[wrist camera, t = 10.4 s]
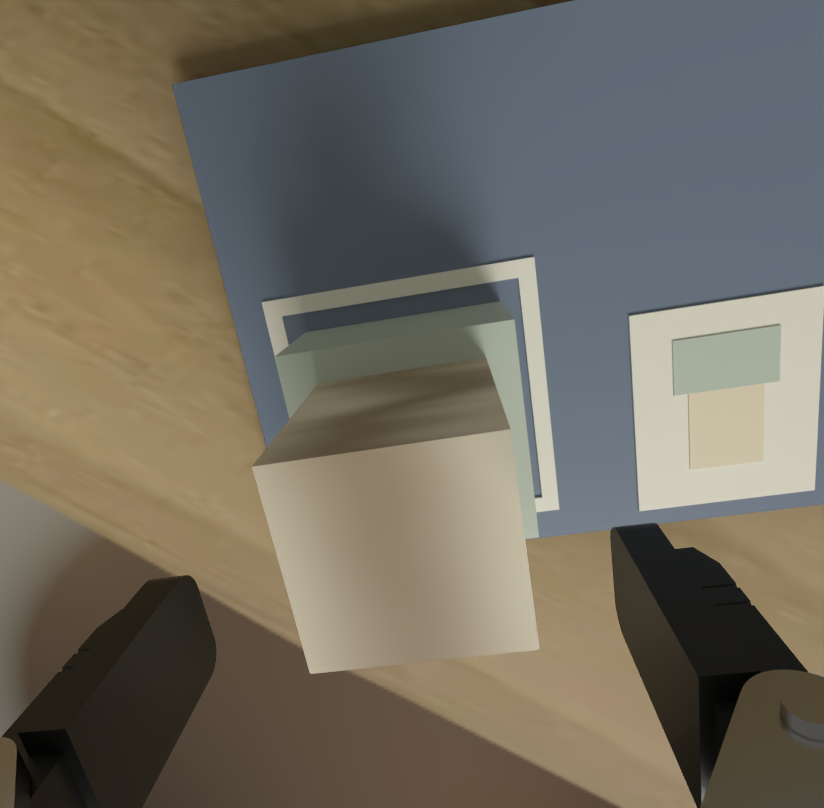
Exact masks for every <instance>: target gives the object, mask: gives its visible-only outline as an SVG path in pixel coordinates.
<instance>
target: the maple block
mask: <svg viewBox="0 0 824 808" xmlns="http://www.w3.org/2000/svg"><path fill="white" fill-rule="evenodd" d="M252 468H253V472H254V476H255V479H256V483H257V486H258V490H259V493H260V497H261V501H262V504H263V508H264V511H265V515H266V518H267V522H268V525H269V529H270V533H271V536H272V540H273V543H274V547H275V550H276V554H277V557H278V561H279V565H280V568H281V572H282V575H283V579H284V582H285V586H286V590H287V593H288V597H289V600H290V604H291V607H292V611H293V614H294V618H295V622H296V625H297V629H298V632H299V636H300V639H301V643H302V646H303V650H304V654H305V657H306V660H307V664H308V668H309V671H310V674H314V673H323V672H332V671H342V670H352V669H361V668H371V667H380V666H390V665H399V664H408V663H418V662H427V661H437V660H446V659H455V658H465V657H474V656H484V655H493V654H503V653H512V652H521V651H531V650H540V649H539V642H538V634H537V627H536V619H535V611H534V604H533V596H532V588H531V581H530V573H529V565H528V558H527V550H526V543H525V535H524V527H523V520H522V512H521V504H520V497H519V489H518V482H517V474H516V466H515V459H514V451H513V443H512V436H511V429H510V426H509V423H508V420H507V417H506V414H505V411H504V408H503V405H502V402H501V400H500V397H499V394H498V391H497V388H496V385H495V382H494V379H493V376H492V373H491V370H490V367H489V365H488V362H487V359H486V357H483V358H476V359H470V360H464V361H458V362H451V363H445V364H439V365H432V366H426V367H420V368H413V369H407V370H401V371H395V372H388V373H382V374H376V375H369V376H363V377H357V378H350V379H344V380H338V381H332V382H325V383H319V384H317V385H316V386H315V387H314V389H313V390H312V391H311V392H310V394H309V395H308V396H307V397H306V399H305V400H304V401H303V403H302V404H301V405H300V406H299V408H298V409H297V410H296V411H295V413H294V414H293V415H292V417H291V418H290V419H289V420H288V422H287V423H286V424H285V425H284V427H283V428H282V429H281V431H280V432H279V433H278V434H277V436H276V437H275V438H274V439H273V441H272V442H271V443H270V445H269V446H268V447H267V448H266V450H265V451H264V452H263V453H262V455H261V456H260V457H259V459H258V460H257V461H256V462H255V464H254V465H253V466H252Z"/></svg>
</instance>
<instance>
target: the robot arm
mask: <svg viewBox="0 0 824 808" xmlns="http://www.w3.org/2000/svg"><path fill="white" fill-rule="evenodd" d="M610 538H611V552H612V566H613V579H614V593H615V604H616V610H617V615H618V620H619V624H620V627H621V631H622V634H623V636H624V639H625V641H626V644H627V646H628V648H629V651H630V653H631V655H632V657H633V660H634V662H635V664H636V667H637V669H638V671H639V674H640V676H641V678H642V681H643V683H644V685H645V688H646V690H647V692H648V695H649V697H650V699H651V702H652V704H653V706H654V708H655V711H656V713H657V715H658V718H659V720H660V722H661V725H662V727H663V729H664V732H665V734H666V736H667V739H668V741H669V743H670V746H671V748H672V750H673V752H674V755H675V757H676V759H677V762H678V764H679V766H680V769H681V771H682V773H683V776H684V778H685V780H686V783H687V785H688V787H689V790H690V792H691V794H692V797H693V799H694V801H695V803H696V806H697V808H824V677H821V676H819V675H815V674H811V673H808V671H807V670H806V669H805V668H804V666H803V665H802V664H801V663H800V662H799V660H798V659H797V658H796V657H795V655H794V654H793V653H792V652H791V650H790V649H789V648H788V647H787V646H786V644H785V643H784V642H783V641H782V639H781V638H780V637H779V636H778V634H777V633H776V632H775V631H774V630H773V628H772V627H771V626H770V625H769V623H768V622H767V621H766V620H765V618H764V617H763V616H762V615H761V614H760V612H759V611H758V610H757V609H756V607H755V606H754V605H753V606H752V605H751V603H750V600H749V599H748V598H747V596H746V595H745V594H744V593H743V591H742V590H741V589H740V588H737V586H736V583H735V582H734V580H733V579H732V578H731V577H730V575H729V574H728V573H727V572H726V570H725V569H724V568H723V567H722V566H721V564H720V563H719V562H717V561H715V560H714V559H712V558H710V557H708V556H707V555H705V554H703V553H702V552H700V551H698V550H697V549H695V548H693V547H691V548H681V549H674V547H673V546H672V544H671V543H670V542H669V540H668V539H667V537H666V536H665V535H664V533H663V532H662V530H661V529H660V528H659V526H658V525H657V524H656V523H645V524H637V525H628V526H619V527H612V529H611V537H610ZM215 662H216V643H215V639H214V635H213V633H212V629H211V626H210V623H209V620H208V617H207V614H206V611H205V608H204V605H203V602H202V599H201V595H200V592H199V589H198V586H197V584H196V582H195V580H194V579H193V578H192V577H191V576H188V575H185V576H177V577H168V578H160V579H152V580H149V581H147V582H146V583H145V584H144V585H143V586H142V588H141V589H140V590H139V591H138V592H137V593H136V594H135V596H134V597H133V598H132V599H131V600H130V602H129V603H128V604H127V605H126V606H125V608H124V609H122V610H120V611H119V612H118V613H116V614H115V615H114V616H112V617H111V618H110V619H108V620H107V621H106V622H104V623H103V624H102V625H100V626H99V627H98V628H96V630H95V631H94V632H93V633H92V634H91V635H90V636H89V638H88V639H87V640H86V641H85V642H84V644H82V646H81V647H80V648H79V649H78V654H74V655H73V656H72V657H71V658H70V659H69V660H68V662H67V663H66V664H65V665H64V666H63V670H62V672H58V673H57V674H56V675H55V676H54V678H53V679H52V680H51V681H50V682H49V683H48V684H47V686H46V687H45V688H44V689H43V690H42V691H41V692H40V694H39V695H38V696H37V697H36V698H35V699H34V700H33V702H32V703H31V704H30V705H29V706H28V707H27V708H26V710H25V711H24V712H23V713H22V714H21V715H20V716H19V718H18V719H17V720H16V721H15V722H14V723H13V724H12V726H11V727H10V728H9V729H8V730H7V731H6V732H5V734H4V735H3V736H2V737H0V808H142V807H143V805H144V803H145V801H146V799H147V797H148V795H149V794H150V792H151V790H152V788H153V786H154V784H155V782H156V780H157V778H158V776H159V774H160V773H161V771H162V769H163V767H164V765H165V763H166V761H167V759H168V757H169V755H170V754H171V752H172V750H173V748H174V746H175V744H176V742H177V740H178V739H179V737H180V735H181V733H182V731H183V729H184V727H185V725H186V723H187V721H188V719H189V717H190V715H191V714H192V712H193V710H194V708H195V706H196V704H197V702H198V701H199V699H200V697H201V695H202V693H203V691H204V689H205V687H206V685H207V683H208V681H209V680H210V678H211V676H212V673H213V670H214V667H215Z"/></svg>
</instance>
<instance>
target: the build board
mask: <svg viewBox="0 0 824 808" xmlns="http://www.w3.org/2000/svg"><path fill="white" fill-rule="evenodd" d="M172 86H173V90H174V94H175V98H176V102H177V105H178V109H179V113H180V117H181V121H182V125H183V128H184V132H185V136H186V140H187V144H188V148H189V151H190V155H191V159H192V163H193V167H194V171H195V174H196V178H197V182H198V186H199V190H200V194H201V197H202V201H203V205H204V209H205V213H206V217H207V220H208V224H209V228H210V232H211V236H212V240H213V243H214V247H215V251H216V255H217V259H218V263H219V266H220V270H221V274H222V278H223V282H224V286H225V289H226V293H227V297H228V301H229V305H230V309H231V312H232V316H233V320H234V324H235V328H236V332H237V336H238V339H239V343H240V347H241V351H242V355H243V359H244V362H245V366H246V370H247V374H248V378H249V382H250V385H251V389H252V393H253V397H254V401H255V405H256V408H257V412H258V416H259V420H260V424H261V428H262V431H263V435H264V439H265V443H266V447H268V446H269V445H270V443H271V442H272V441H273V439H274V438H275V437H276V436H277V434H278V433H279V432H280V431H281V429H282V428H283V427H284V425H285V424H286V423H287V422H288V420H289V415H288V411H287V407H286V403H285V399H284V395H283V391H282V387H281V382H280V378H279V374H278V370H277V366H276V362H275V358H274V357H275V356H276V355H277V354H279V353H280V352H281V351H282V350H284V349H285V348H286V347H287V346H289V345H290V344H291V343H293V342H294V341H295V340H296V339H298V338H299V337H300V336H302V335H303V334H304V333H305V332H310V331H316V330H323V329H329V328H335V327H341V326H348V325H354V324H360V323H366V322H373V321H379V320H385V319H391V318H398V317H404V316H410V315H416V314H423V313H429V312H435V311H441V310H448V309H454V308H460V307H466V306H473V305H479V304H485V303H491V302H498V301H500V302H501V303H502V304H503V305H504V307H505V308H506V309H507V310H508V312H509V313H510V314H511V316H512V317H513V318H514V319H515V328H516V337H517V346H518V355H519V364H520V373H521V381H522V390H523V399H524V408H525V417H526V426H527V435H528V443H529V452H530V461H531V470H532V479H533V488H534V497H535V505H536V514H537V523H538V532H539V538H543V537H551V536H560V535H568V534H577V533H585V532H594V531H602V530H611V529H612V527H619V526H628V525H637V524H645V523H656V524H661V523H670V522H678V521H686V520H695V519H703V518H712V517H720V516H729V515H737V514H746V513H754V512H762V511H771V510H779V509H788V508H796V507H805V506H813V505H822V504H824V0H573V1H568V2H563V3H559V4H554V5H549V6H544V7H540V8H535V9H530V10H525V11H520V12H516V13H511V14H506V15H501V16H496V17H492V18H487V19H482V20H477V21H473V22H468V23H463V24H458V25H453V26H449V27H444V28H439V29H434V30H429V31H425V32H420V33H415V34H410V35H406V36H401V37H396V38H391V39H386V40H382V41H377V42H372V43H367V44H362V45H358V46H353V47H348V48H343V49H339V50H334V51H329V52H324V53H319V54H315V55H310V56H305V57H300V58H295V59H291V60H286V61H281V62H276V63H272V64H267V65H262V66H257V67H252V68H248V69H243V70H238V71H233V72H229V73H224V74H219V75H214V76H209V77H205V78H200V79H195V80H190V81H185V82H181V83H176V84H172ZM531 539H535V538H531ZM525 540H526V539H525Z"/></svg>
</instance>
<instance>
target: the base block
mask: <svg viewBox="0 0 824 808" xmlns="http://www.w3.org/2000/svg"><path fill="white" fill-rule="evenodd" d="M483 357H486V359H487V362H488V365H489V367H490V370H491V373H492V376H493V379H494V382H495V385H496V388H497V391H498V394H499V397H500V400H501V402H502V405H503V408H504V411H505V414H506V417H507V420H508V423H509V426H510V429H511V436H512V443H513V451H514V459H515V466H516V474H517V482H518V489H519V497H520V504H521V512H522V520H523V527H524V535H525V539H531V538H539V532H538V523H537V514H536V505H535V497H534V488H533V479H532V470H531V461H530V452H529V443H528V435H527V426H526V417H525V408H524V399H523V390H522V381H521V373H520V364H519V355H518V346H517V337H516V328H515V319H514V318H513V317H512V316H511V314H510V313H509V312H508V310H507V309H506V308H505V307H504V305H503V304H502V303H501V302H500V301H498V302H491V303H485V304H479V305H473V306H466V307H460V308H454V309H448V310H441V311H435V312H429V313H423V314H416V315H410V316H404V317H398V318H391V319H385V320H379V321H373V322H366V323H360V324H354V325H348V326H341V327H335V328H329V329H323V330H316V331H310V332H305V333H304V334H303V335H302V336H300V337H299V338H298V339H296V340H295V341H294V342H293V343H291V344H290V345H289V346H287V347H286V348H285V349H284V350H282V351H281V352H280V353H279V354H277V355H276V356H275V357H274V358H275V362H276V366H277V370H278V374H279V378H280V382H281V387H282V391H283V395H284V399H285V403H286V407H287V411H288V415H289V419H290V418H291V417H292V415H293V414H294V413H295V411H296V410H297V409H298V408H299V406H300V405H301V404H302V403H303V401H304V400H305V399H306V397H307V396H308V395H309V394H310V392H311V391H312V390H313V389H314V387H315V386H316V385H317V384H319V383H325V382H332V381H338V380H344V379H350V378H357V377H363V376H369V375H376V374H382V373H388V372H395V371H401V370H407V369H413V368H420V367H426V366H432V365H439V364H445V363H451V362H458V361H464V360H470V359H476V358H483Z"/></svg>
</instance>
